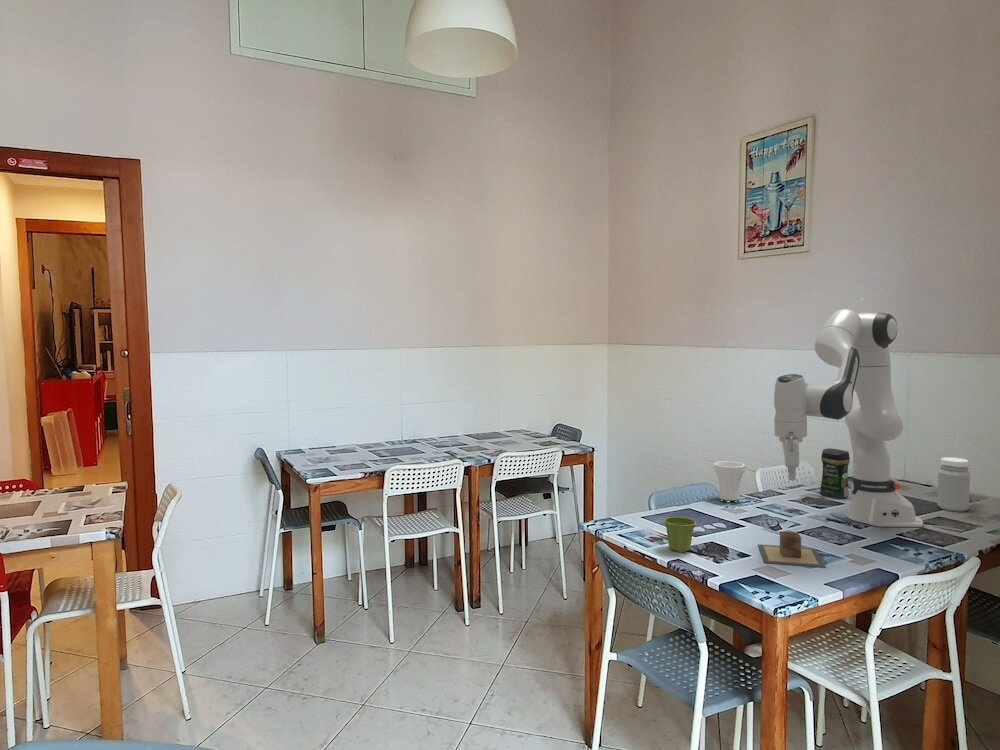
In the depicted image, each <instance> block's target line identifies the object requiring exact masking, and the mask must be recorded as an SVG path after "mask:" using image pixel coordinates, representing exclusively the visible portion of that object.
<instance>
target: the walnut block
mask: <svg viewBox="0 0 1000 750" xmlns="http://www.w3.org/2000/svg"><path fill="white" fill-rule="evenodd" d="M779 546H780V554H781V556H782V557H789V558H801V547H802V536H801V534H800V533H799V532H798V531H797V532H796V531H794V532H793V531H781V530H780V531H779Z"/></svg>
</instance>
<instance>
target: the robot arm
mask: <svg viewBox="0 0 1000 750" xmlns="http://www.w3.org/2000/svg"><path fill="white" fill-rule="evenodd" d="M897 335H898V324H897V320H896V319H895V317H894V316H893V315H892V314H890V313H886V312H878V313H876V312H858V313H857V312H856V311H855V310H851V309H848V308H847V309H846V308H842V309H839V310H836V311H834V312H833V313H832V314H831V315H830V317H828V319H827V320H826V322H825V323H824V324H823V326H822V328H821V329H820V330H819V333H818V335H816V336H817V337H816V339H815V341H814V350H815V353H816V355H817V357H819V359H820V360H822V362H824V363H825V364H827V365H830V366H833V367H836V368H838V369H839V370H838V374H837V379H836V381H835V382H833V383H829V384H814V383H809V382H806V381H805V377H804V376H803V375H801V374H798V373H797V374H796V373H791V374H784V375H780V376H778V377H777V378H776V381H775V385H774V390H773V391H774V392H773V393H774V394H773V406H774V410H775V414H774V420H773V421H774V422H773V423H774V436H775V437H778V438H779V442H781V443H782V451H783V457H784V465H785V467H786V468H787V474H788V480H789V481H796V472H797V468H799V467H800V444H799V443H803V438H806V437H807V436H808V418H807V417H808V416H809V417H814V418H815V417H816V418H826V419H832V420H836V421H837V420H842V419H843V418H844V422H845V425H846V426H847V428H848V432H849V437H850V442H851V447H852V457H853V458H852V465H853V466H852V476H851V480H850V492H851V497H850V502H849V507H848V509H847V510H848V511H847V513H846V517H847V518H848V519H850V520H852V521H855V522H858V523H863V524H868V525H870V526H874V527H884V528H885V527H889V528H890V527H897V528H898V527H903V528H904V527H906V528H909V527H910V528H912V527H913V528H914V527H915V528H917V527H918V528H923V526H924V521H923V519H922V518H921V517H919V516H917V515H916V511H915V508H914V505H913V504H912V502H910V501H909V500H908V499H907V498H906V497H904V496H903V495H902V494H900V493H899V492H897V490H900V489H901V488H902V485H901V484H900V483H898V482H897V481H894V480H893V479H891V455H890V453H889V451H888V450H887V449H888V448H887V445H886V442H890V441H894V440H896V439H898V438H899V437H900V435H902V432H903V431H904V423H903V420H902V418H901V417H900V416H899V414H898V411H897V406H896V404H895V400H894V396H893V395H894V394H893V391H892V378H891V377H892V374H891V373H892V369H891V368H892V367H891V354H890V353H891V352H890V348H889V346H890V345H891V344H892V343H893V342H894V341H895V339H896V338H897ZM854 392H855V393H856V396H857V399H858V403H859V404H856V405H854V406H853V404H854V403H853V400H854Z"/></svg>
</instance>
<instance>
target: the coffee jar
mask: <svg viewBox="0 0 1000 750" xmlns="http://www.w3.org/2000/svg"><path fill="white" fill-rule="evenodd" d="M850 461H851V459H850V453H849V451H847V450H843V449H837V448H832V447H831V448H830V447H828V448H824V449H822V452H821V463H822V474H821V483H820V492H819V493H820V494H821V495H822V496H825V497H827V498H833V499H843V498H844V499H846V498H848V497H849V494H850V493H849V491H850V490H849V473H848V472H849V471H848V470H849V464H850Z"/></svg>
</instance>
